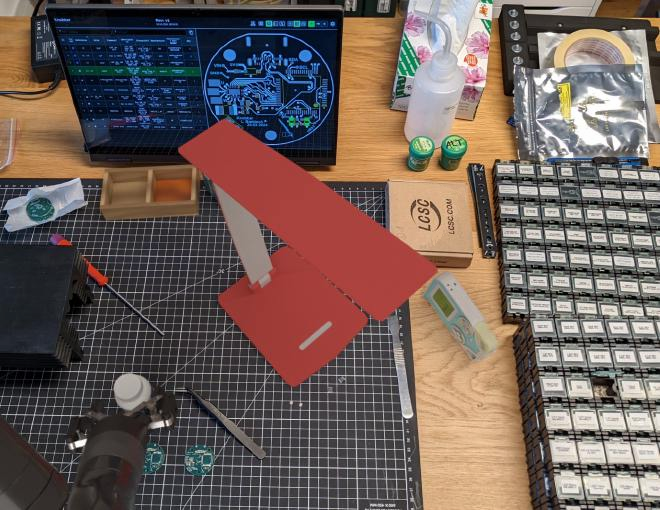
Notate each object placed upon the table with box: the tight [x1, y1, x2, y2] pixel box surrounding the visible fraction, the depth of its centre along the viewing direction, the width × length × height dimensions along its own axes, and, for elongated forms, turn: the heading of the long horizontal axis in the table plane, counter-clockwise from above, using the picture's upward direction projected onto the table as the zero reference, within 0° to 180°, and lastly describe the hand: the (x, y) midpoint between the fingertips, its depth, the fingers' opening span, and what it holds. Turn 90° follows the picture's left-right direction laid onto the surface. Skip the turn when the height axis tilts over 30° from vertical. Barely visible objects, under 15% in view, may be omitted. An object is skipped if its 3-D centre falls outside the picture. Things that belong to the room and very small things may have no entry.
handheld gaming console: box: [420, 270, 499, 364], centre depth 103 cm, size 11×3×15 cm
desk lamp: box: [177, 118, 439, 388], centre depth 89 cm, size 18×38×40 cm, turn 43°
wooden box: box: [99, 164, 201, 221], centre depth 118 cm, size 9×17×4 cm, turn 94°
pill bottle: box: [113, 372, 156, 414], centre depth 95 cm, size 5×5×10 cm
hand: (130, 397), depth 91 cm, fingers open, 8 cm apart
